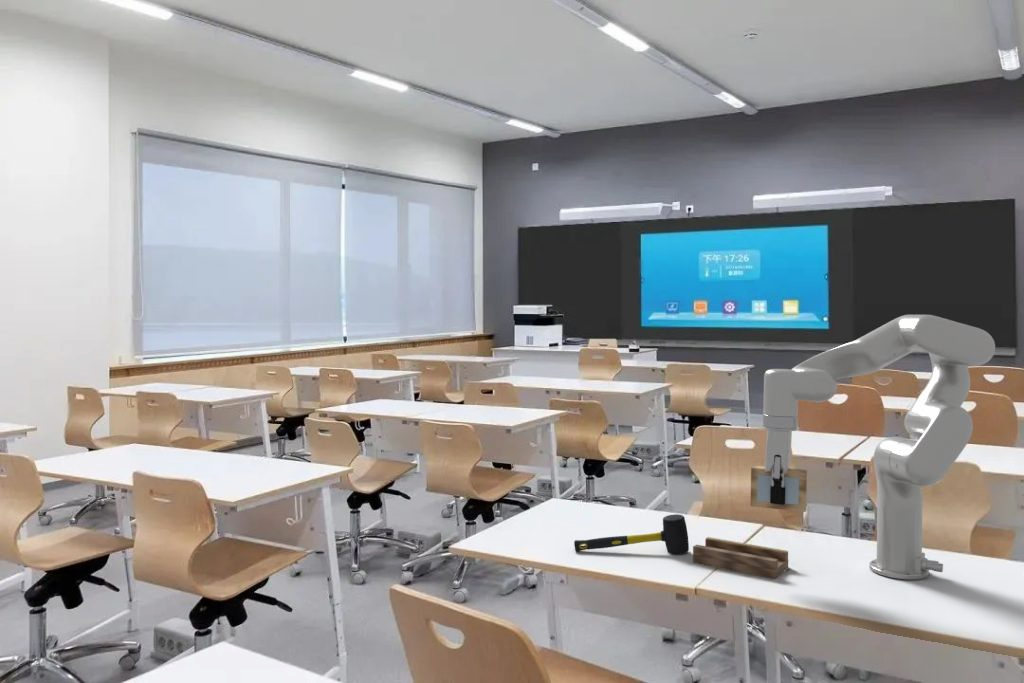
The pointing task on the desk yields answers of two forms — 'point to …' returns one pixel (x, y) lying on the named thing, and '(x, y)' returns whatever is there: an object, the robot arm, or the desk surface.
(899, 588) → the desk surface
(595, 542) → the mallet
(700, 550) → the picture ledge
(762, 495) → the wooden picture frame
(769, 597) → the desk surface
